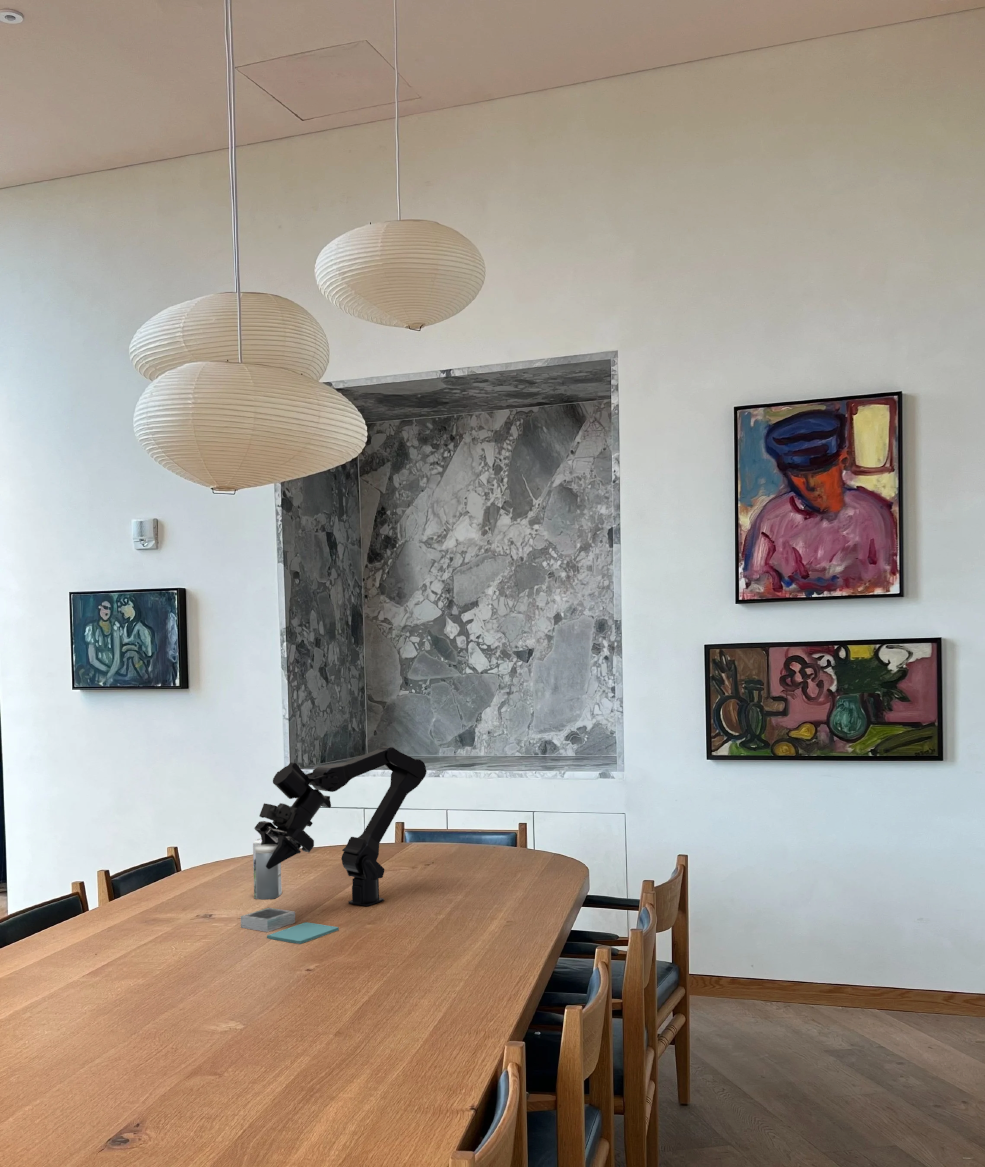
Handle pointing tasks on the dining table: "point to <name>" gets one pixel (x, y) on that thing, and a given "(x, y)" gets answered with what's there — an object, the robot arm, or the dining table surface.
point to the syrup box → (255, 843)
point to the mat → (302, 932)
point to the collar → (267, 919)
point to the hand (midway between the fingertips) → (261, 866)
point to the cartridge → (266, 873)
